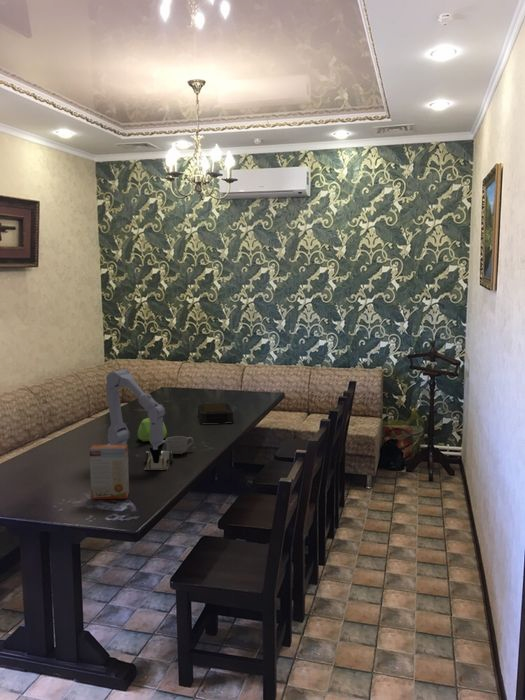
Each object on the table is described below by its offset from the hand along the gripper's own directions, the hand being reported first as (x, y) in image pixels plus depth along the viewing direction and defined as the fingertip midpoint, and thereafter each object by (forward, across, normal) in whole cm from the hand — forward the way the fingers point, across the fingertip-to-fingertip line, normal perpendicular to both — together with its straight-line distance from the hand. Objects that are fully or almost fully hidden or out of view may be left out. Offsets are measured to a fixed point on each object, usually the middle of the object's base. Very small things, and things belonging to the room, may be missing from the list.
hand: (157, 460), depth 268 cm
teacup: (+4, +22, -9) cm, 24 cm away
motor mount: (+4, +3, 0) cm, 5 cm away
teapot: (+4, +46, +8) cm, 47 cm away
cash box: (+4, +91, -26) cm, 95 cm away
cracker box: (+4, -35, +15) cm, 38 cm away
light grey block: (+3, 0, 0) cm, 3 cm away
